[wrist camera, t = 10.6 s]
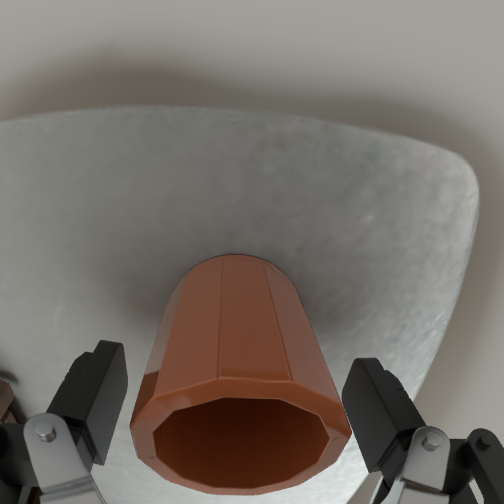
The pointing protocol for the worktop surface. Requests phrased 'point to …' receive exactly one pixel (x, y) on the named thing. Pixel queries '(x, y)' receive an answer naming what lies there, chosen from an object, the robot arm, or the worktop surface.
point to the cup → (237, 385)
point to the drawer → (11, 420)
